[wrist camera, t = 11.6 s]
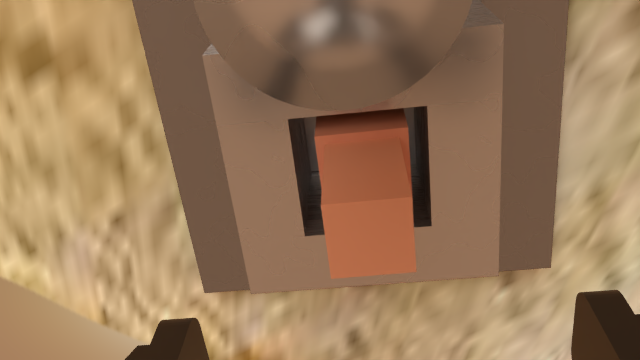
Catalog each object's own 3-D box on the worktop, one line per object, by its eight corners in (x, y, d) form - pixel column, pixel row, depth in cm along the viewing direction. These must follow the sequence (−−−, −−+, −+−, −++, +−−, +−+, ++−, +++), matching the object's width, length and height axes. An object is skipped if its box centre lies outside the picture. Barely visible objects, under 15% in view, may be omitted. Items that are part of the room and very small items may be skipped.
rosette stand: (105, -148, 21) (-467, -190, 6) (572, -211, 20) (1275, -456, 5) (208, 280, 30) (69, 707, 15) (544, 255, 28) (774, 695, 13)
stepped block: (319, 87, 24) (307, 195, 16) (395, 79, 24) (423, 185, 16) (328, 155, 25) (321, 288, 17) (400, 148, 25) (427, 280, 17)
